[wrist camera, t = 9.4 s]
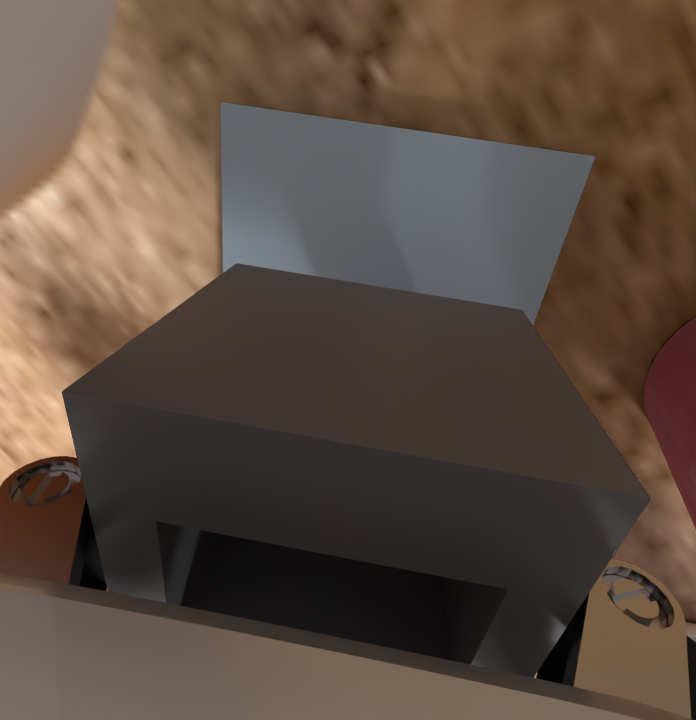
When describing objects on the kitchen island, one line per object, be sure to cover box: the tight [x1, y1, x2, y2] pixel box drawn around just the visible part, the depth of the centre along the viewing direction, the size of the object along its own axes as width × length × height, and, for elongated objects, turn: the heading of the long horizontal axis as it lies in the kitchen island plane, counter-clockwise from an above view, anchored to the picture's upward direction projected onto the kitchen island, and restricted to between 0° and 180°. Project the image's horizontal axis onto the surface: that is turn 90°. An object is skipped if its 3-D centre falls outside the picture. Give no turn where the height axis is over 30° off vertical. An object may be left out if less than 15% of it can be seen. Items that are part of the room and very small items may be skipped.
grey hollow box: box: [62, 263, 651, 678], centre depth 9 cm, size 7×7×6 cm
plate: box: [220, 102, 596, 325], centre depth 20 cm, size 14×14×2 cm
